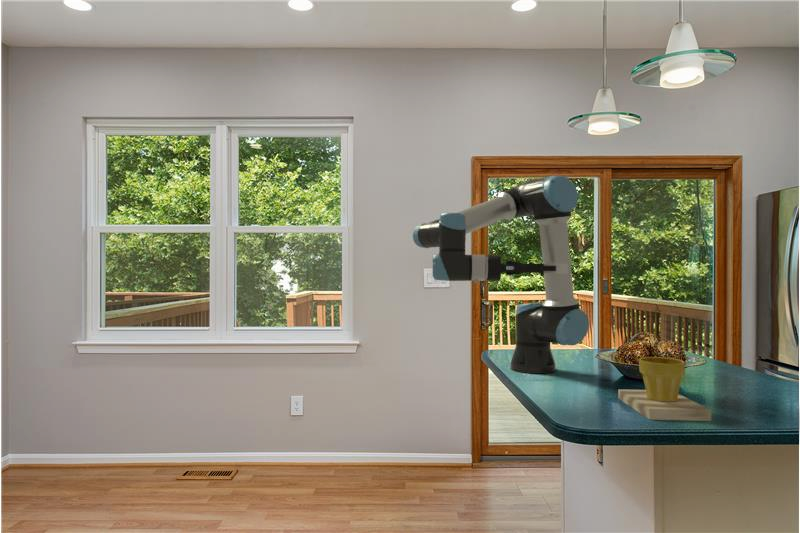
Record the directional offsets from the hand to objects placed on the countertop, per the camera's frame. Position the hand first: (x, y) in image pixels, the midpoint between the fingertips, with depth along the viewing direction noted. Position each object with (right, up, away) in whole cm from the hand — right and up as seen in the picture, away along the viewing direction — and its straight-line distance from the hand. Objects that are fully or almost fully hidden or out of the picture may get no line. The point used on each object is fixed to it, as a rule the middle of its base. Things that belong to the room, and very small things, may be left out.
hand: (561, 268), depth 151 cm
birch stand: (+20, -35, -18) cm, 44 cm away
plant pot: (+20, -33, -18) cm, 42 cm away
